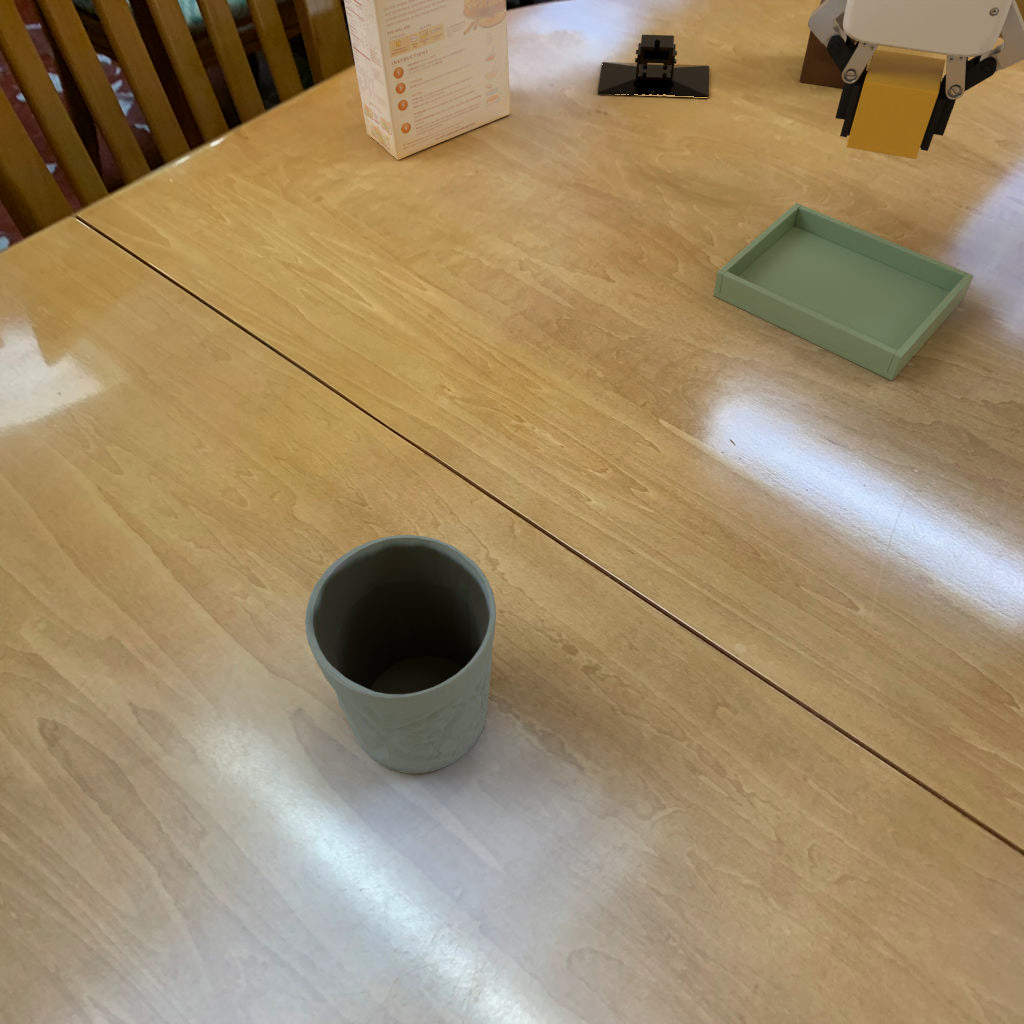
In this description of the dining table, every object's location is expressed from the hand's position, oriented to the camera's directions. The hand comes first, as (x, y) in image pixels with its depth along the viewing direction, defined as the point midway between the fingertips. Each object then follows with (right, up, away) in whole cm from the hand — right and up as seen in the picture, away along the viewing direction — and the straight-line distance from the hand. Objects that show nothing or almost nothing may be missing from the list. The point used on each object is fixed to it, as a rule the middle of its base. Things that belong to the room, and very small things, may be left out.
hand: (886, 132), depth 69 cm
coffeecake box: (-36, +14, +32) cm, 50 cm away
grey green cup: (-34, -41, -11) cm, 54 cm away
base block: (+9, +22, +36) cm, 43 cm away
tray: (+1, -10, +12) cm, 16 cm away
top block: (0, 0, 0) cm, 0 cm away
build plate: (-12, +21, +37) cm, 44 cm away
